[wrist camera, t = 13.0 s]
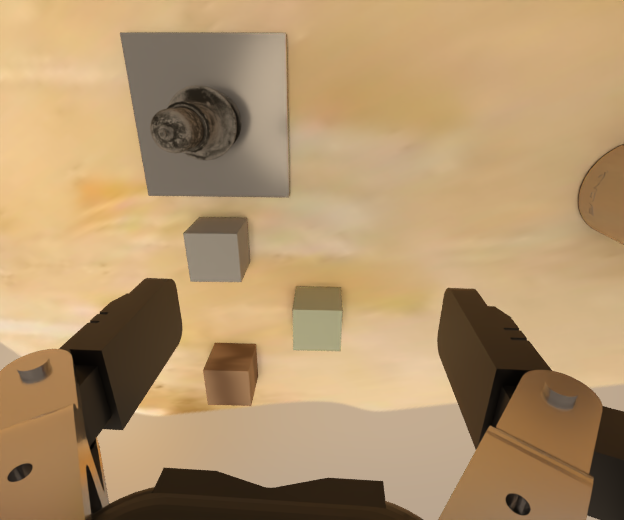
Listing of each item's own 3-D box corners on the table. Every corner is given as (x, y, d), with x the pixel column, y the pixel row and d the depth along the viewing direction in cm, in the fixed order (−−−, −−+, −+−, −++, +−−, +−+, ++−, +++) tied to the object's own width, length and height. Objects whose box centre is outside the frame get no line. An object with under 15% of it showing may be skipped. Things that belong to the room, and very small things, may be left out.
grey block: (247, 217, 39) (237, 233, 35) (250, 261, 41) (241, 282, 37) (199, 217, 39) (183, 233, 35) (205, 260, 42) (190, 281, 37)
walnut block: (255, 343, 46) (248, 371, 41) (258, 375, 48) (251, 405, 43) (215, 342, 46) (203, 370, 41) (219, 374, 48) (208, 404, 44)
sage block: (340, 287, 42) (342, 310, 38) (339, 324, 44) (340, 351, 40) (296, 286, 42) (292, 309, 38) (296, 323, 45) (293, 350, 40)
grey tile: (286, 34, 32) (285, 32, 31) (289, 194, 38) (288, 197, 37) (125, 34, 33) (119, 32, 32) (152, 193, 38) (148, 195, 38)
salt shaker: (206, 166, 36) (156, 197, 25) (167, 109, 34) (93, 117, 23) (257, 132, 35) (227, 150, 24) (219, 72, 33) (166, 60, 22)
